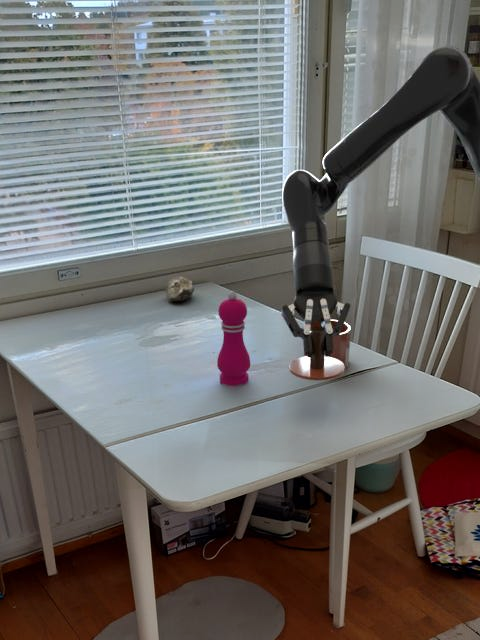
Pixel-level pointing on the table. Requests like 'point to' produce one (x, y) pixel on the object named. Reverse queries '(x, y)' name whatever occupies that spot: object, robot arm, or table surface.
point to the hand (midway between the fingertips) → (319, 355)
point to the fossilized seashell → (179, 289)
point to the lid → (317, 360)
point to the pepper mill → (233, 342)
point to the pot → (339, 342)
